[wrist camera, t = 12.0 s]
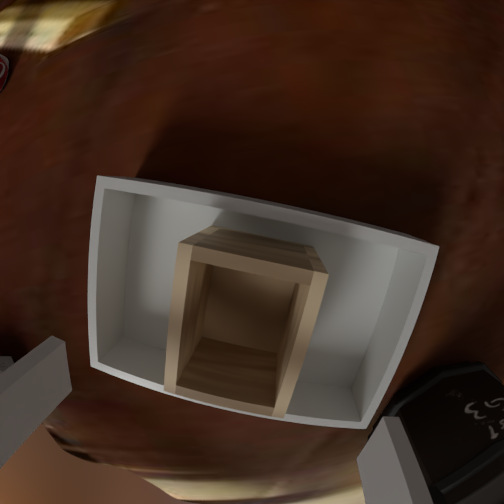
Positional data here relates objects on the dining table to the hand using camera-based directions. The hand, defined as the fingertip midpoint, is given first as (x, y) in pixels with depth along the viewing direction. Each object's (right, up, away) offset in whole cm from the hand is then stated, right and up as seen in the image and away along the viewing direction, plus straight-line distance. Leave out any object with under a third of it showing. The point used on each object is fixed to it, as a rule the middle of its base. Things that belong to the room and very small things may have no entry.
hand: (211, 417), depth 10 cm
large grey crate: (+1, +3, +15) cm, 16 cm away
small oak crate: (+1, +3, +14) cm, 15 cm away
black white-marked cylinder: (+23, -13, +17) cm, 31 cm away
